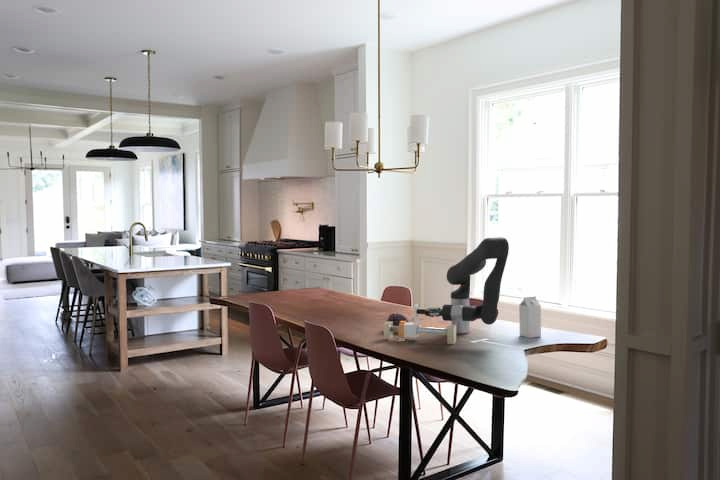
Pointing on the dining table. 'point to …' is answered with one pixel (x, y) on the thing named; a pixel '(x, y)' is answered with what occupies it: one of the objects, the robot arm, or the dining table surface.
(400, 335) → the ring
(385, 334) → the pipe rail
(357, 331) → the dining table surface
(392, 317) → the pine cone
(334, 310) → the dining table surface
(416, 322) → the sleeve
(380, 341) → the dining table surface
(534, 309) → the milk carton
